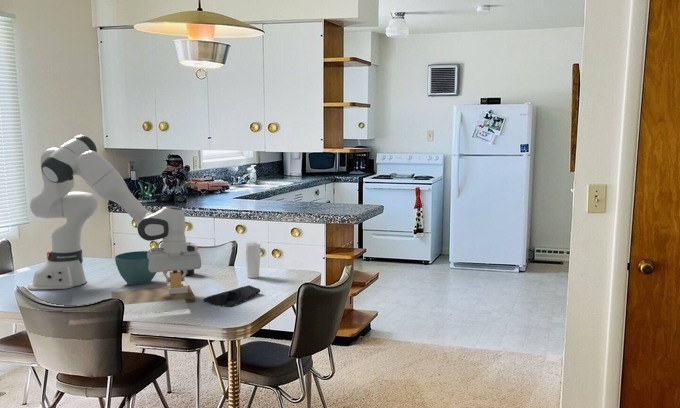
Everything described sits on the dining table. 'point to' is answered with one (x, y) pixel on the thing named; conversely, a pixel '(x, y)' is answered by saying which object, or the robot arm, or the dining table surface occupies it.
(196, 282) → the dining table surface
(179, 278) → the tan block with tip
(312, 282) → the dining table surface
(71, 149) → the robot arm
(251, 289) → the dark slate chunk
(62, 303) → the dining table surface
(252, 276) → the drinking glass
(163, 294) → the board
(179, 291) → the plug holder
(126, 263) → the teal bowl
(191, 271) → the supplement bottle
